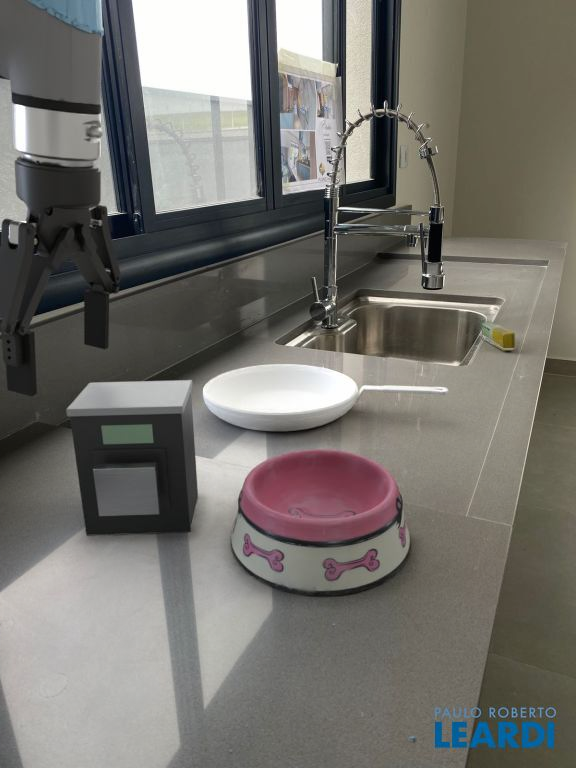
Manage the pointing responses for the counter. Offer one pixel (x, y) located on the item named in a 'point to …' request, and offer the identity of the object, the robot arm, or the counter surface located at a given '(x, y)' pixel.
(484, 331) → the medication box
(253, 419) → the pan
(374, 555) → the dog bowl
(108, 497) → the push plate
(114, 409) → the dispenser
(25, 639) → the counter surface
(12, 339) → the robot arm
